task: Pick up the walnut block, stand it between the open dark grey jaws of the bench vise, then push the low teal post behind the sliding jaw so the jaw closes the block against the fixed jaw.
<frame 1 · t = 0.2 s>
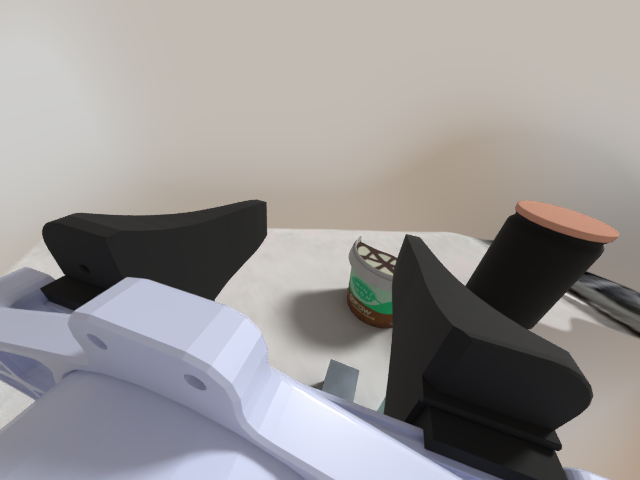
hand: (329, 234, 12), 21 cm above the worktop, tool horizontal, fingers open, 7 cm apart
sliding jaw: (362, 430, 21), point 2 cm above the worktop, slide at 0.0 cm
coffee jar: (493, 309, 41), on the worktop
food container: (366, 313, 36), on the worktop
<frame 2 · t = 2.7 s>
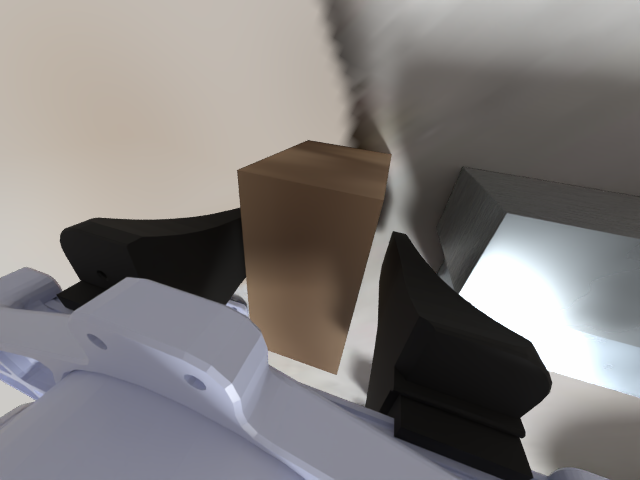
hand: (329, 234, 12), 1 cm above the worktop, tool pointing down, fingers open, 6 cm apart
fixed jaw: (471, 354, 15), on the worktop
walnut block: (336, 221, 13), on the worktop
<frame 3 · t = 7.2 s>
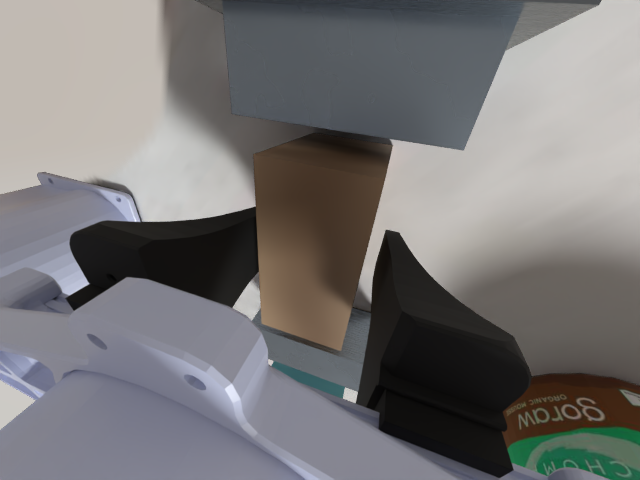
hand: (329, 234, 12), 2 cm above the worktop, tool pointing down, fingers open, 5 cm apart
fixed jaw: (339, 215, 14), on the worktop
sliding jaw: (311, 357, 18), point 2 cm above the worktop, slide at 0.0 cm
walnut block: (340, 211, 14), on the worktop
food container: (539, 391, 16), on the worktop
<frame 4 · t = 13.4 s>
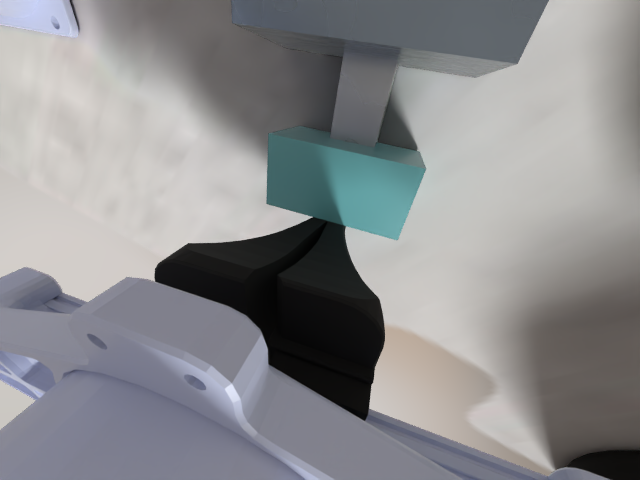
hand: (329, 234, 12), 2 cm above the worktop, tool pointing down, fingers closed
sliding jaw: (358, 103, 9), point 2 cm above the worktop, slide at 1.0 cm, touching gripper
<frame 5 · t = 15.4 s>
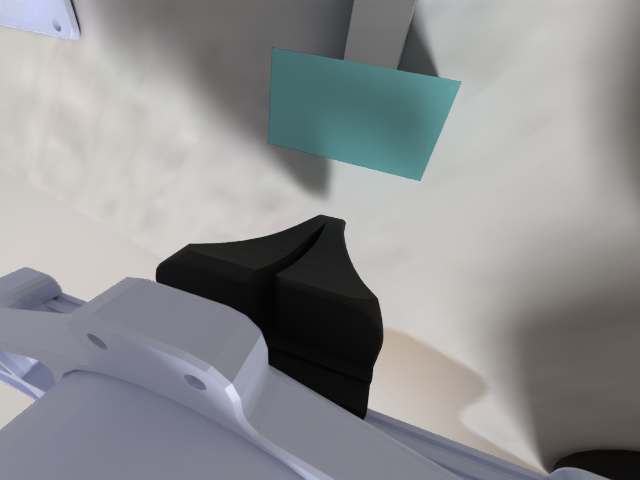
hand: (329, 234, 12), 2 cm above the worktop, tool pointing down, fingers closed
sliding jaw: (379, 11, 8), point 2 cm above the worktop, slide at 4.0 cm
coffee jar: (630, 478, 18), on the worktop
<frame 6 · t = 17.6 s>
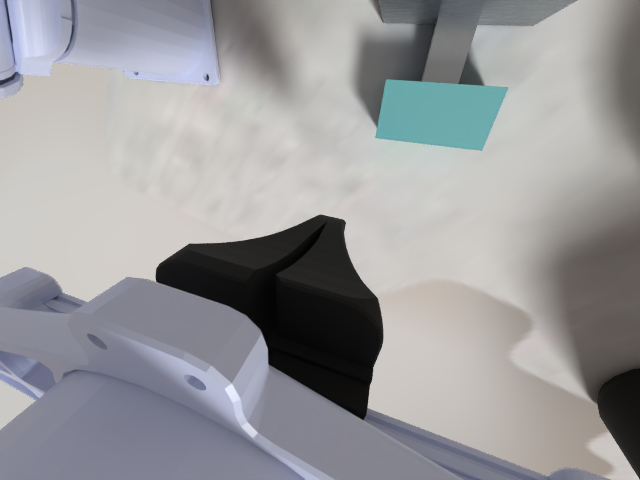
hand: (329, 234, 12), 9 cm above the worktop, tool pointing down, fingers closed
sliding jaw: (449, 51, 13), point 2 cm above the worktop, slide at 4.0 cm
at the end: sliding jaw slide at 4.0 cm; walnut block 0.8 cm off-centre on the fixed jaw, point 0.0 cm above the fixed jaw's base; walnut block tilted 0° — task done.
